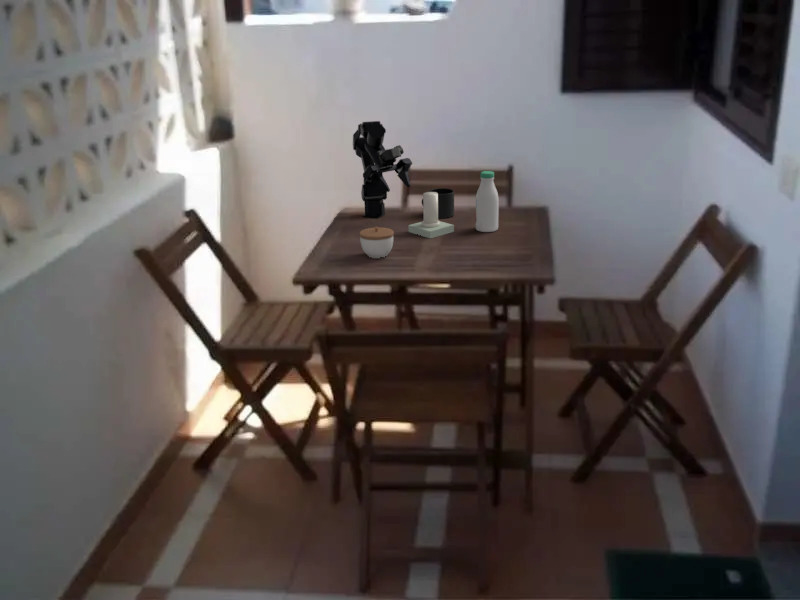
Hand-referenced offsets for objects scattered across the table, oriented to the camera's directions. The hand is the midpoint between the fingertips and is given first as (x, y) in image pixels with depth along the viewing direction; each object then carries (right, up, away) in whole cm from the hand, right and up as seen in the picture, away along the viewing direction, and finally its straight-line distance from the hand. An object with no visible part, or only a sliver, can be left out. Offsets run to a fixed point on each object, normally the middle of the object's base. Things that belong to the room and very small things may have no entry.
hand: (399, 188), depth 301 cm
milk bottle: (+30, -14, -1) cm, 33 cm away
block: (+11, -15, -2) cm, 19 cm away
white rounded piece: (+11, -13, -3) cm, 17 cm away
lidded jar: (-7, -25, -25) cm, 36 cm away
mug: (+14, -8, +18) cm, 24 cm away
